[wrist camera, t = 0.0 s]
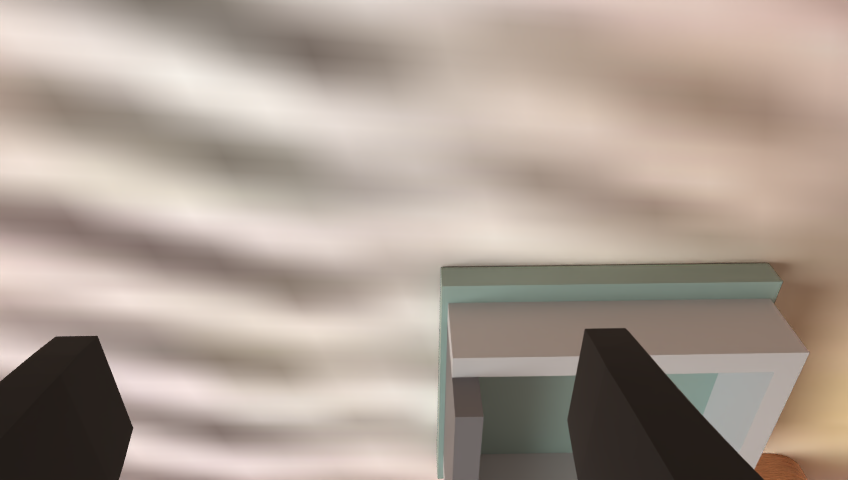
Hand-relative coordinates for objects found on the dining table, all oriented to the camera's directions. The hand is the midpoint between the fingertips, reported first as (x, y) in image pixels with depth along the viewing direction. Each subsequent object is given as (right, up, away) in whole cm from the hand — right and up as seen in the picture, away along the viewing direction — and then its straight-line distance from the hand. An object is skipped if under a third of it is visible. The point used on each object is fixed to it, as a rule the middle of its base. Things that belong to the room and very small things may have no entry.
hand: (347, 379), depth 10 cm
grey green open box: (+7, -3, +14) cm, 16 cm away
